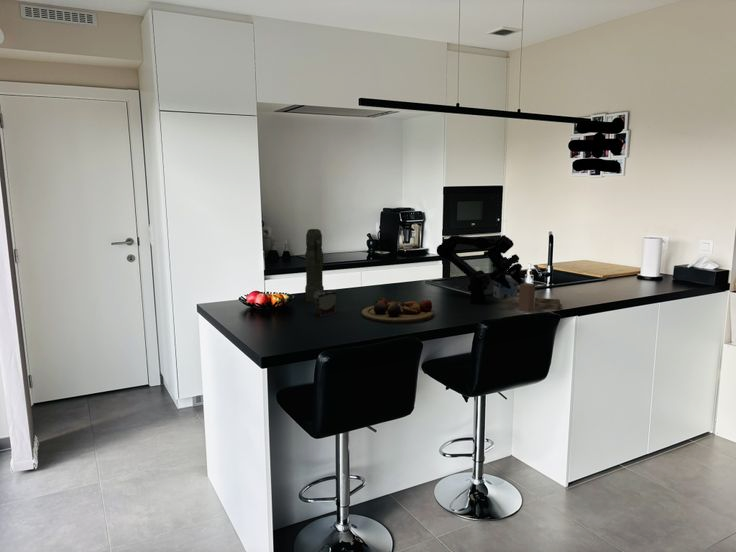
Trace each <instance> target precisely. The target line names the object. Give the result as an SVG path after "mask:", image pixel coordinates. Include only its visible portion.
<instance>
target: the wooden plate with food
mask: <svg viewBox="0 0 736 552" xmlns="http://www.w3.org/2000/svg"><path fill="white" fill-rule="evenodd" d="M360 315H361V316H362V318H363V319H366V320H367V321H371V322H375V323H376V322H377V323H382V324H413V323H414V324H415V323H420V322H425V321H428V320H430V319H432V318H434V316H435V312H434V310H433V303H432V301H431V300H430V299H425V300H422V301H421V302H420V303H417V302H416V301H413V300H411V301H406V302H403V301H402V302H397V301H395V300H392V299H391V300H390V301H389V302H387V299H386V298H385V297H384V296H381V297H379V298H377V300H376V301H375V302H374V305H371V306H369V307H366V308H364V309H363V310H362V311H361V313H360Z"/></svg>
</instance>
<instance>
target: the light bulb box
mask: <svg viewBox="0 0 736 552" xmlns="http://www.w3.org/2000/svg"><path fill="white" fill-rule="evenodd" d="M505 277H506V279H507V281H508V283H509V284H510V286H511V289H508V288H507V287H505V286H503V285H501V284H500V283H498V282H496V281H494V280H493V290H492V291H493V295H492V296H493V298H496V299H498V300H505V299H507V298H518V294H519V290H518V289H519V284H518V283H517V282H516V281H515V280H514V279H513V278H512V277H511V275H505Z"/></svg>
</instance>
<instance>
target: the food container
mask: <svg viewBox="0 0 736 552" xmlns="http://www.w3.org/2000/svg"><path fill="white" fill-rule="evenodd" d="M337 296H338V291H337V289H324V290H319V291H316V292H315V293H314V298H315V301H316V303H315V309H316V316H318V317H323V316H327V315H330V314H334V313H336V305H337Z"/></svg>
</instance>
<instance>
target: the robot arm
mask: <svg viewBox="0 0 736 552" xmlns="http://www.w3.org/2000/svg"><path fill="white" fill-rule="evenodd" d="M458 245H464V246H465V245H466V246H473V247H475V248H477V249H480V250H484V252H483V255H482V258H489V260H490V262H491V263H492V265H491V266H492V267H493V268H495V269H494V270H493V271H492V272H491V273H490V274H486V272H485V271H483V270H476V269H475V268H473V267H472V266H471V265H470V264H469V263H467V261H466V260H464V259H463V258H462V257H461V256H459V255H458V253H457V252H456V248H457V246H458ZM513 247H514V242H513V240H512V239H510V237H507V236H506V235H505V234H503V235H501V236H500V238H498V239H494V237H492V236H481V237H473V236H465V235H457V234H456V235H455V234H454V235H450V236H449V237H448V239H446V240H444V241H443V242H442V243H441V244H439V245H438V246H437V247H436V254H437V255H438V256H439V257H440V258H443V259H445V260H448V261H450V262H451V263H452V264H453V265H454V266H455V267H456V268H457V269H458V270H459V271H460V272H462V273H463V274H464V275H465V276H467V277H468V280H469V282H470V284H469V285H468V286H467V290H468V291H470V299H469V300H470V301H469V304H480V305H481V304H482V305H484V304H485V303H486V293H485V290H487V289H488V286H489V285H490V283H491V281H493V282H494V281H496V282H498V283H500V284H501V285H503V286H505V287H507V288H508V289H511V286H510V284H509V283H508V281H507V279H506V277H505V276H506V274H508V275H509V276H511V277H512V278H513V279H514V280H515V281H516V282H517V283H518V285H520V284H523V279H522V276H521V271H522V268H523V266H522V264H521V263H519V261H520V257H519V255H517V253H515V254H513V255H511V257H508V258H507V256H503V254H506V253H507V252H508V251H509V250H510V249H511V248H513ZM486 250H487V251H486Z"/></svg>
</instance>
